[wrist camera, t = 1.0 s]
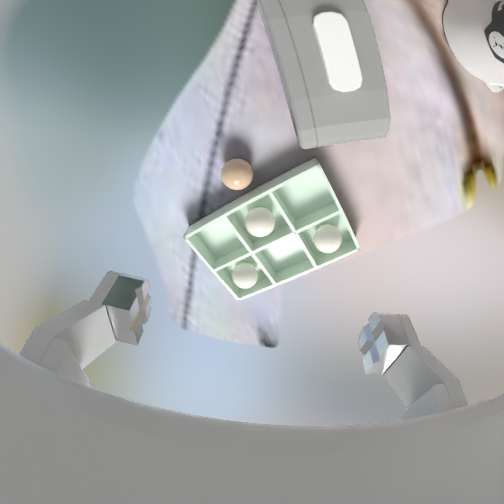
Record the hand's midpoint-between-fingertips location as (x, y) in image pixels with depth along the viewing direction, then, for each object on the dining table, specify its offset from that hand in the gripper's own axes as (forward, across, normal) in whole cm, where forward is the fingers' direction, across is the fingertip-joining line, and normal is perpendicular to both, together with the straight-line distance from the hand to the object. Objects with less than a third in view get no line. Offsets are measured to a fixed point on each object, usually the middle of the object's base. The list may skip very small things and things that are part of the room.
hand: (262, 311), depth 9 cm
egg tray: (+32, -4, +15) cm, 36 cm away
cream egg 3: (+31, -12, +13) cm, 36 cm away
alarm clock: (+32, -4, -12) cm, 34 cm away
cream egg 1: (+32, -1, +23) cm, 39 cm away
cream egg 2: (+32, -1, +12) cm, 34 cm away
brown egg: (+32, +3, +6) cm, 33 cm away
